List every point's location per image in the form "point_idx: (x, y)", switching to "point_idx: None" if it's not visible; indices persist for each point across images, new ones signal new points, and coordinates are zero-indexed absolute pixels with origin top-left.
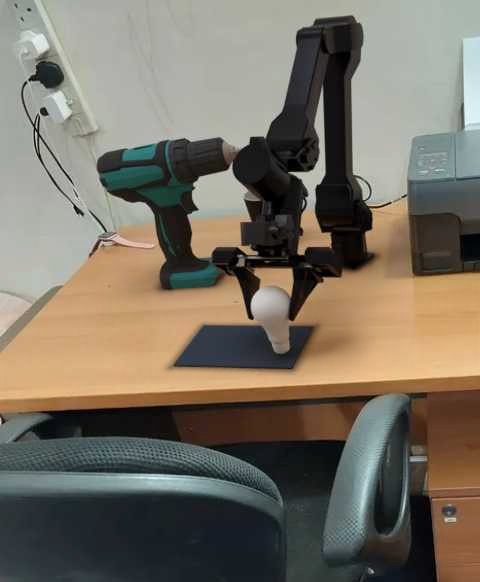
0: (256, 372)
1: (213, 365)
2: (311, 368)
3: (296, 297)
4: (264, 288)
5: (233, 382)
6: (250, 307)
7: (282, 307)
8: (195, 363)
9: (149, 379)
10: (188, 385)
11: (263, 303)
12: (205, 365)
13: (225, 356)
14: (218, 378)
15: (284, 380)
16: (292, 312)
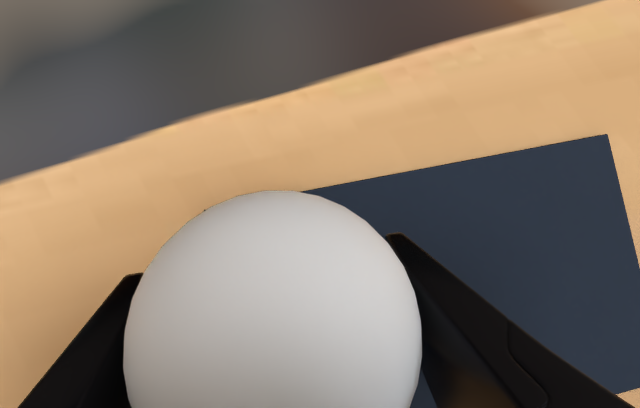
0: (319, 166)
1: (477, 158)
2: (137, 232)
3: (33, 401)
4: (312, 370)
5: (363, 99)
6: (409, 271)
7: (141, 278)
8: (542, 155)
9: (626, 58)
10: (492, 55)
11: (258, 219)
12: (504, 154)
13: (470, 216)
14: (423, 108)
15: (199, 145)
16: (106, 304)
